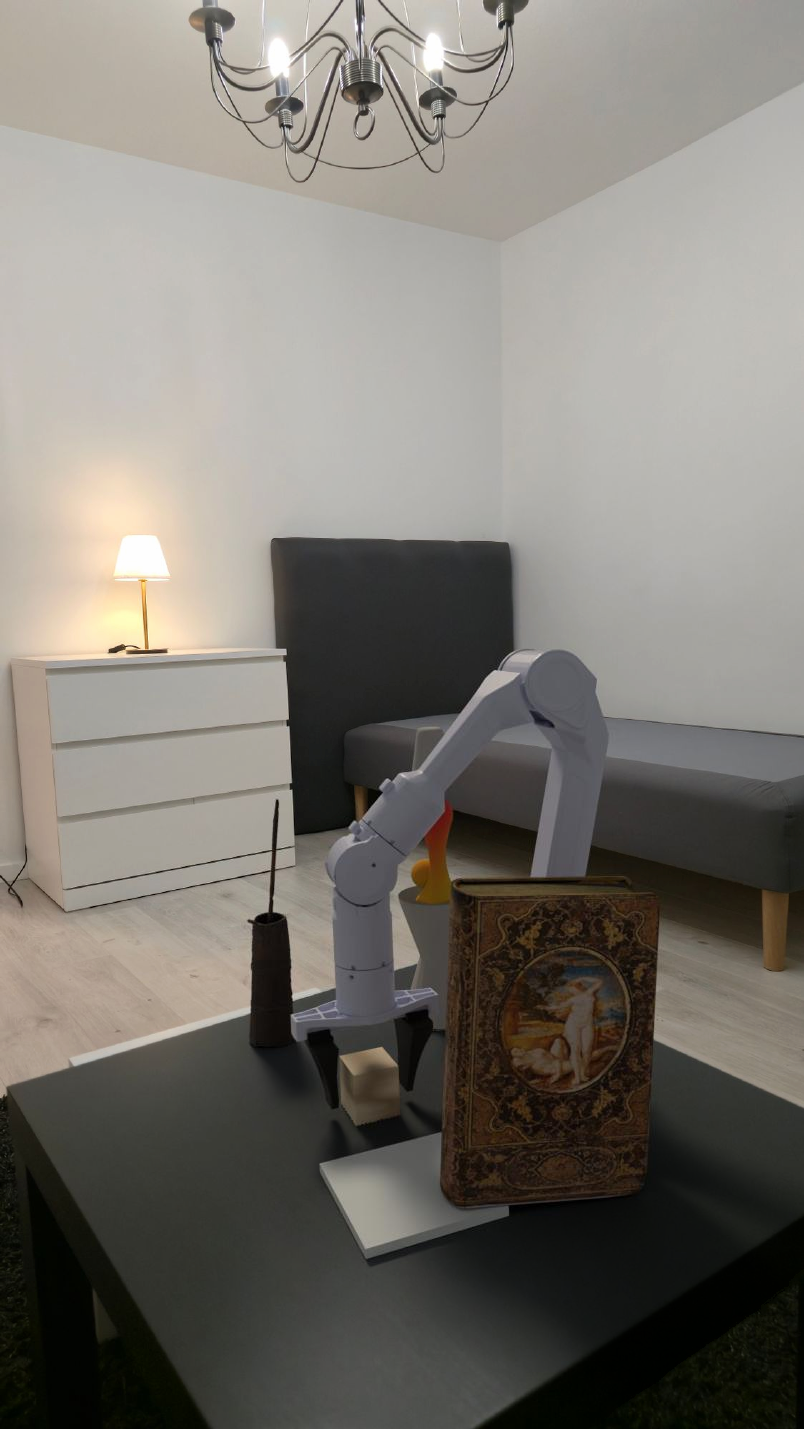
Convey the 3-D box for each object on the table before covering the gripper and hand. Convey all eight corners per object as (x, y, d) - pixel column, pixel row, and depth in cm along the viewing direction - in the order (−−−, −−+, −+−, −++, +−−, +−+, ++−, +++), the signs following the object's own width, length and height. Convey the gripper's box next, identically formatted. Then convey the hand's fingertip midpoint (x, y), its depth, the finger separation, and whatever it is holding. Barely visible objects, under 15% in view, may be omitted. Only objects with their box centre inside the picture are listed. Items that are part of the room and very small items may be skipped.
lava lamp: (492, 1012, 110) (483, 725, 107) (443, 1038, 104) (432, 733, 100) (436, 993, 116) (427, 722, 113) (386, 1017, 110) (375, 729, 107)
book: (448, 1210, 71) (460, 896, 69) (434, 1170, 76) (444, 878, 74) (645, 1195, 74) (662, 893, 72) (618, 1157, 79) (633, 875, 77)
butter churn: (239, 1069, 98) (225, 813, 95) (214, 1036, 106) (201, 800, 104) (318, 1049, 102) (306, 803, 99) (288, 1018, 110) (277, 791, 108)
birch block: (383, 1094, 92) (381, 1046, 91) (400, 1115, 87) (398, 1066, 87) (341, 1104, 90) (339, 1055, 89) (356, 1126, 86) (353, 1076, 85)
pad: (446, 1139, 83) (445, 1131, 83) (509, 1215, 72) (508, 1206, 72) (319, 1172, 78) (319, 1163, 78) (365, 1259, 67) (365, 1249, 67)
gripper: (417, 935, 94) (422, 1062, 95) (280, 959, 88) (286, 1092, 90) (445, 957, 87) (450, 1093, 88) (299, 984, 82) (306, 1127, 83)
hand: (369, 1095), depth 89 cm, fingers open, 7 cm apart
